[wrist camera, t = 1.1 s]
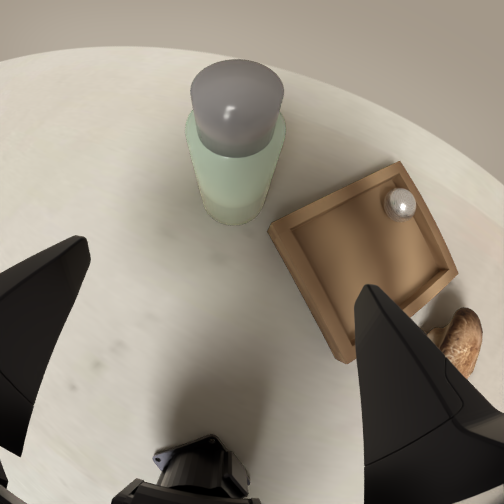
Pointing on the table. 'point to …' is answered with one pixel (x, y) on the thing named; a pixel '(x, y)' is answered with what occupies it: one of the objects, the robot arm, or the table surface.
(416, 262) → the tray
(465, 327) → the mushroom
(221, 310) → the table surface
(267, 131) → the disc
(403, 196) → the ball
